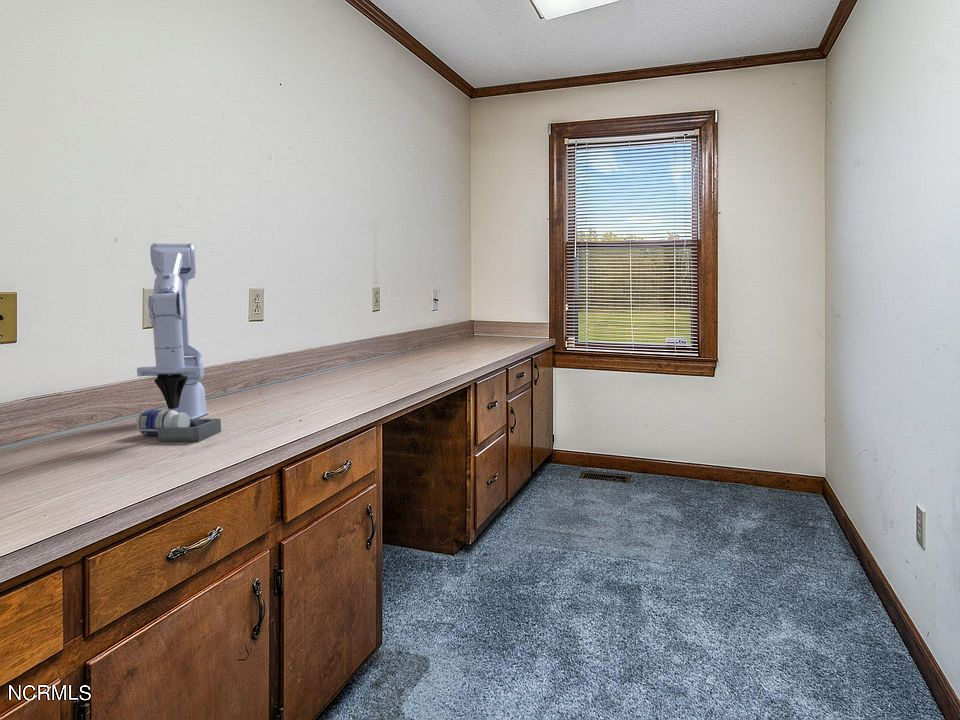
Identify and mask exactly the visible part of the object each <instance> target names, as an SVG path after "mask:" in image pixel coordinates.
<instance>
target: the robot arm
mask: <svg viewBox="0 0 960 720" xmlns="http://www.w3.org/2000/svg"><path fill="white" fill-rule="evenodd" d="M149 248H150V249H149V250H150V252H149V253H150V261H151V266H152V267H153V268H152V269H153V271H154V274H155V276H156V277H155V279H154V283H153V291H152V295H149V296H148V303H147V305H148V314H149V318H150V322H151V323H150V324H151V328H153V329H152V330H153V345H154V355H155V366H139V367H137V368H136V373H137V374H136V376H137V377H156V378H155V379H154V380H153V381H154V384H155V385H156V386H157V387H158V389H159V390H160V392H161V394H162V396H163V398H164V400H165V403H166V405H167V410H174V411H176V412H178V413H186V414H187V415H188V416H189V418H193V419H199V418H201V417H204V416H206V415H208V414H210V411H209V410H208V411H207V402H206V389H205V387H204V385H203V384H202V383H201V382H200V381H202V380H203V379H204V376H205V373H206V372H205V366H204V365H203V363H204V362H203V357H202V352H201V351H200V349H198V348H197V347H195V346H194V345H192V344H190V333H189V332H190V331H189V312H188V311H189V310H188V294H187V293H188V284H189V281H190V280H192V279H194V278H196V273H197V260H196V257H197V255H196V248H195V245H194V244H193V242H192V243H191V242H189V243H156V242H152V244H151V245H150V247H149Z"/></svg>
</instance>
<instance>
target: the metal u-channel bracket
mask: <svg viewBox="0 0 960 720" xmlns="http://www.w3.org/2000/svg"><path fill="white" fill-rule="evenodd" d="M221 432H222V422H221V418H196V419H193V418H190V427H159V428H158V435H157V439H158V442H159V441H182V442H184V443H185V442H187V441H189V442H191V441H192V442H191V443H194V442H196V443H198V442H199V441H200V442H202V441H205V439H208V438H211V437H212V436H214V435H216V434H218V433H221ZM201 440H202V441H201ZM197 441H198V442H197ZM189 442H188V443H189ZM200 442H199V443H200Z"/></svg>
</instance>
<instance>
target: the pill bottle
mask: <svg viewBox="0 0 960 720" xmlns="http://www.w3.org/2000/svg"><path fill="white" fill-rule="evenodd" d="M159 427H190V418H189V416H188V415H187V414H186V413H178V412H176V411H174V410H169V409H144V410H142V411H141V412H140V413H139V414H138V416H137V419H136V429H137V431H138V432H139V433H140V434H141V435H143V436H158V428H159Z"/></svg>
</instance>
